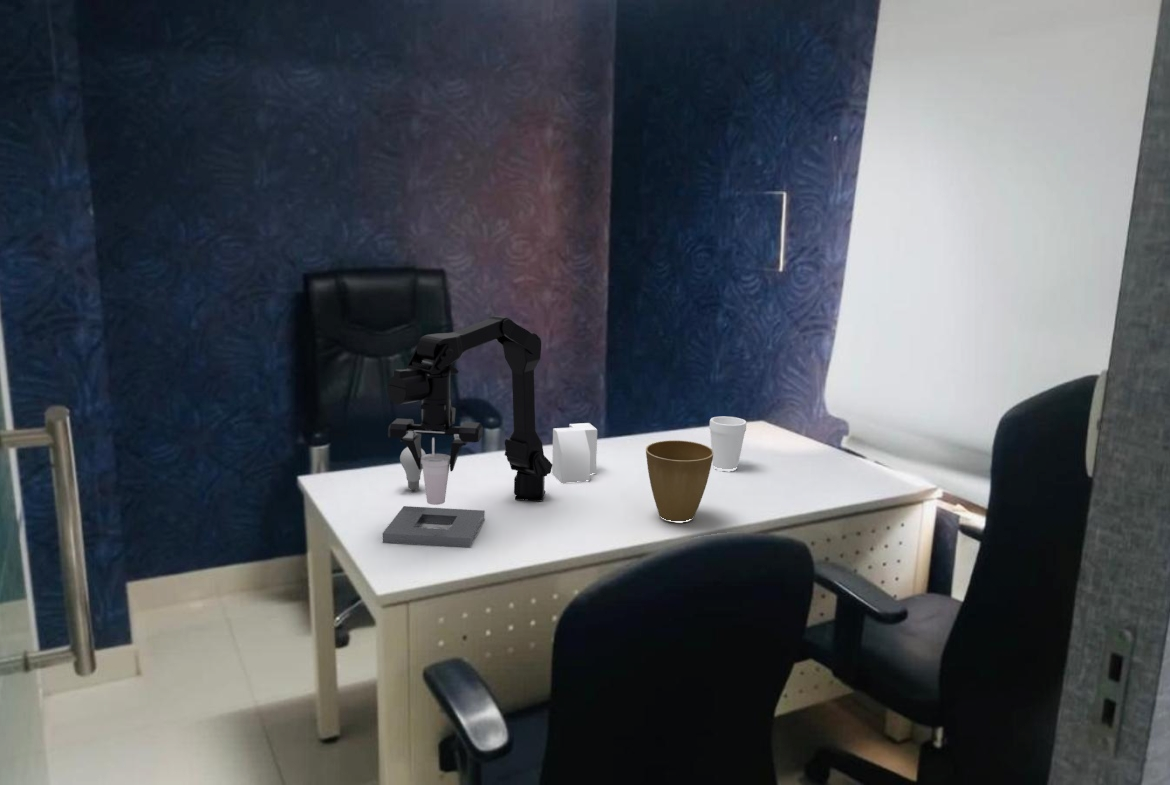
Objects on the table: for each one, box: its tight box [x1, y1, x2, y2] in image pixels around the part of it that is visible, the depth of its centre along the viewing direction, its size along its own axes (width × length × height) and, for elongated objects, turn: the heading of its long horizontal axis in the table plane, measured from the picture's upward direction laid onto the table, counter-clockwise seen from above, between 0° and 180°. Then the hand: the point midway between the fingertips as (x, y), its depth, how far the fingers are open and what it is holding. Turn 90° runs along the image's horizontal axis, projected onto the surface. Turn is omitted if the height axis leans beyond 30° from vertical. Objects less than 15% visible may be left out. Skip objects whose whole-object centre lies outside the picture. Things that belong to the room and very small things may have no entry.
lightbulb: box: [399, 446, 427, 491], centre depth 212 cm, size 6×6×11 cm
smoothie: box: [420, 436, 450, 506], centre depth 187 cm, size 6×6×14 cm
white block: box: [551, 422, 598, 484], centre depth 228 cm, size 11×11×12 cm
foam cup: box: [709, 415, 747, 469], centre depth 237 cm, size 10×9×13 cm
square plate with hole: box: [382, 505, 486, 548], centre depth 189 cm, size 18×16×2 cm
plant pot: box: [645, 439, 714, 521], centre depth 199 cm, size 15×15×16 cm
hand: (436, 469), depth 187 cm, fingers closed on smoothie, 6 cm apart
